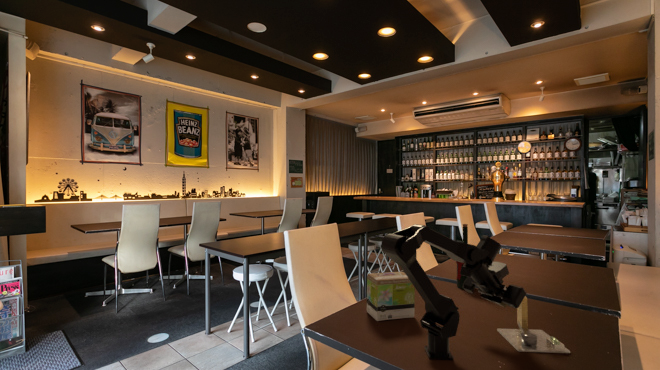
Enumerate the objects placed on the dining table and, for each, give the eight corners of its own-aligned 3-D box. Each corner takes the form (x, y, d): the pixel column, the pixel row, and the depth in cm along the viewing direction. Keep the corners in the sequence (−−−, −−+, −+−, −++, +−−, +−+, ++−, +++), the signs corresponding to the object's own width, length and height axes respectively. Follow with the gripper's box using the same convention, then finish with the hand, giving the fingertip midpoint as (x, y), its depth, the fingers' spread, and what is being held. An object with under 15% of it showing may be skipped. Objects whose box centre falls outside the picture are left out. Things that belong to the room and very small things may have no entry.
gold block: (538, 346, 93) (538, 307, 93) (522, 343, 94) (522, 305, 94) (526, 324, 108) (526, 291, 108) (513, 322, 109) (512, 290, 109)
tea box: (377, 322, 112) (377, 280, 113) (366, 312, 122) (366, 273, 122) (415, 317, 117) (415, 276, 117) (402, 308, 126) (401, 270, 126)
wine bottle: (450, 287, 152) (449, 224, 153) (463, 284, 158) (462, 223, 159) (465, 291, 146) (464, 225, 147) (478, 288, 152) (477, 224, 152)
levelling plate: (570, 353, 91) (570, 342, 91) (518, 351, 92) (518, 341, 92) (541, 331, 105) (541, 322, 105) (496, 330, 106) (496, 321, 106)
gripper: (522, 260, 93) (545, 294, 97) (469, 249, 110) (491, 279, 114) (503, 290, 89) (529, 324, 93) (451, 275, 106) (475, 304, 110)
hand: (504, 305), depth 103 cm, fingers closed
